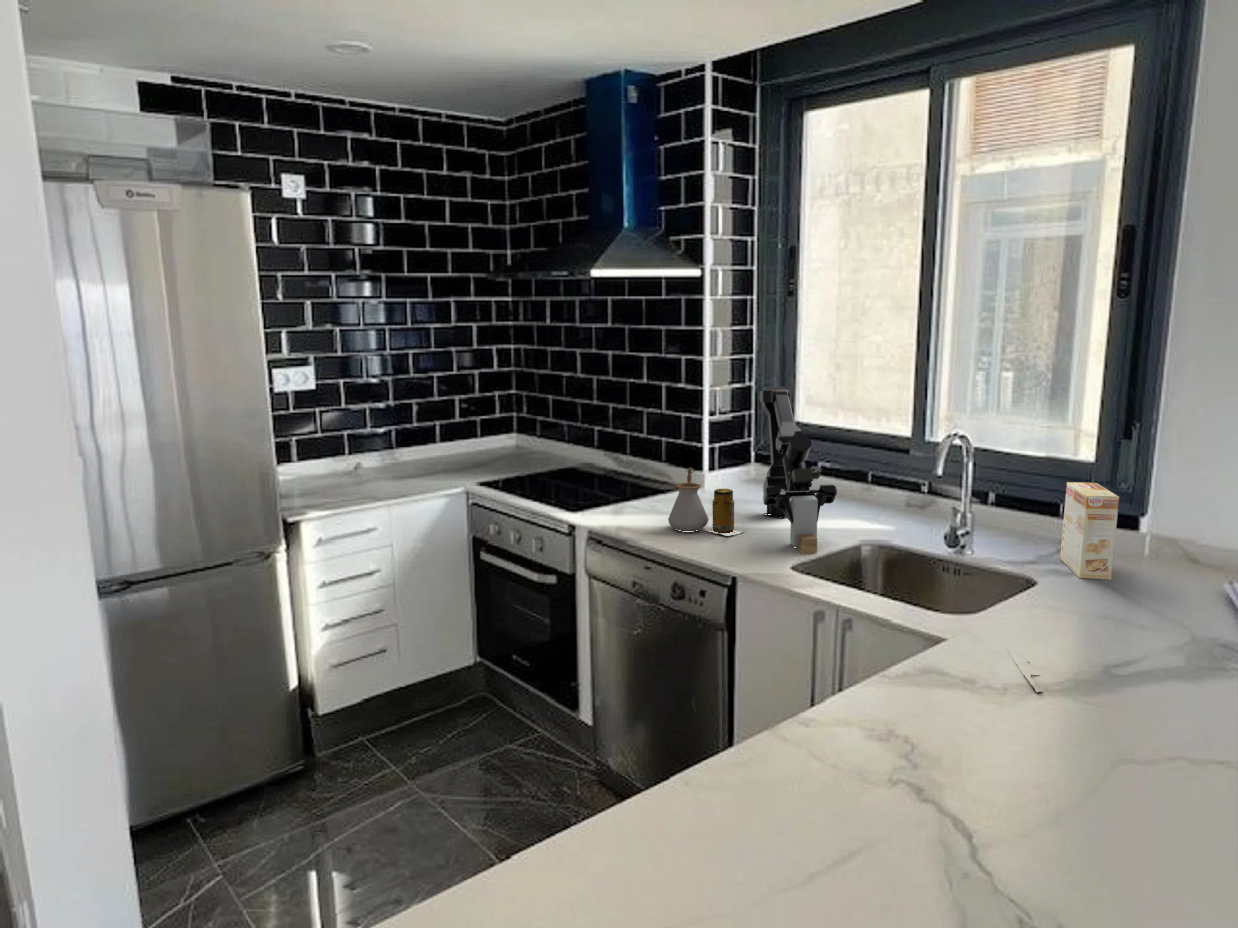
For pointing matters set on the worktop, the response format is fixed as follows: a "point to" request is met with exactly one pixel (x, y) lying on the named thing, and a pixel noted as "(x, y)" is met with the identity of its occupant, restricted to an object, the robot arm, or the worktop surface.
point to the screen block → (803, 517)
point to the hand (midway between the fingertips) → (804, 522)
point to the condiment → (723, 511)
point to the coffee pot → (688, 508)
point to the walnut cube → (807, 543)
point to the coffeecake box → (1089, 530)
